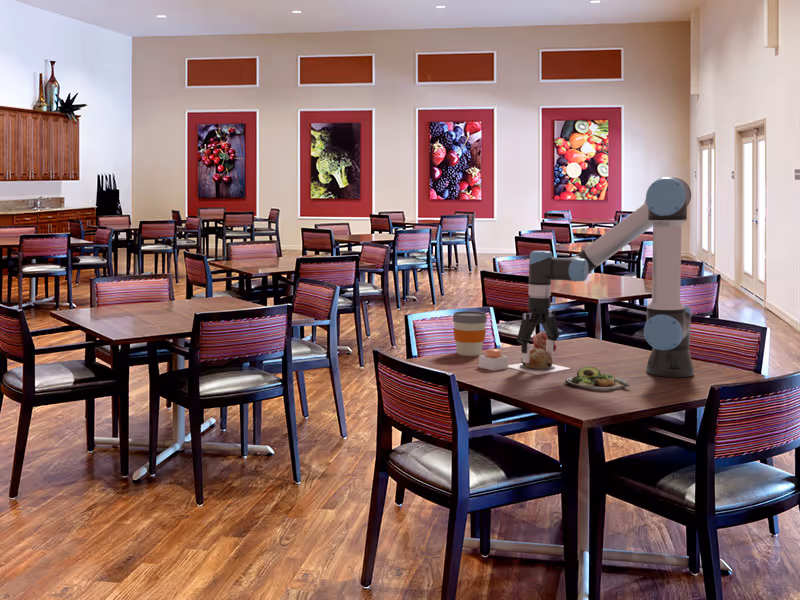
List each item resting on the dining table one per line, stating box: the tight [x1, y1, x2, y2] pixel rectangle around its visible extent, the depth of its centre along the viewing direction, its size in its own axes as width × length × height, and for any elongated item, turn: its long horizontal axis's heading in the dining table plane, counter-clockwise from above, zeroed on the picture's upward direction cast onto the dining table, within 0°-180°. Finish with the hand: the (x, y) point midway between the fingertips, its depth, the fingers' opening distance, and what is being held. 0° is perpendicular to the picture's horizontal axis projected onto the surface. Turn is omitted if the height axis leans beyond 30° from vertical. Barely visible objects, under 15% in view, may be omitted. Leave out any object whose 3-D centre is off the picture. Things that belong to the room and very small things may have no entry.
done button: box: [485, 348, 502, 358], centre depth 294 cm, size 5×5×3 cm
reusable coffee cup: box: [452, 310, 488, 357], centre depth 319 cm, size 13×13×15 cm
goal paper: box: [507, 362, 572, 376], centre depth 294 cm, size 16×16×1 cm
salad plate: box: [564, 366, 631, 392], centre depth 269 cm, size 19×18×5 cm
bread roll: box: [520, 348, 553, 369], centre depth 294 cm, size 10×10×8 cm
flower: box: [530, 331, 557, 353], centre depth 319 cm, size 10×9×8 cm
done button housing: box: [478, 354, 509, 371], centre depth 294 cm, size 7×7×4 cm
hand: (537, 360), depth 294 cm, fingers open, 11 cm apart
